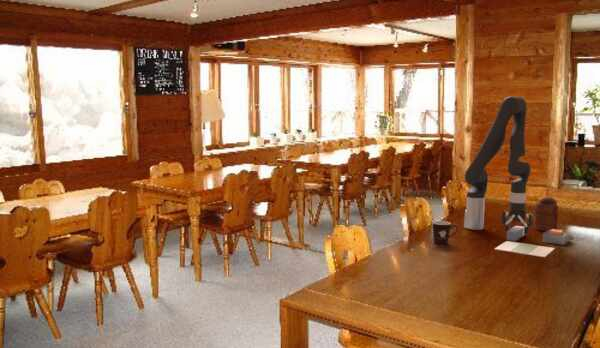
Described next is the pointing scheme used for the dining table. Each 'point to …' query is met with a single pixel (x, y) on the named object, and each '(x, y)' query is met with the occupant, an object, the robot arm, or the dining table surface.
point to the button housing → (555, 238)
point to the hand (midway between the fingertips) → (516, 232)
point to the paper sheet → (525, 248)
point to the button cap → (556, 232)
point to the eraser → (515, 233)
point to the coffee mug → (442, 232)
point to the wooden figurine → (546, 214)
